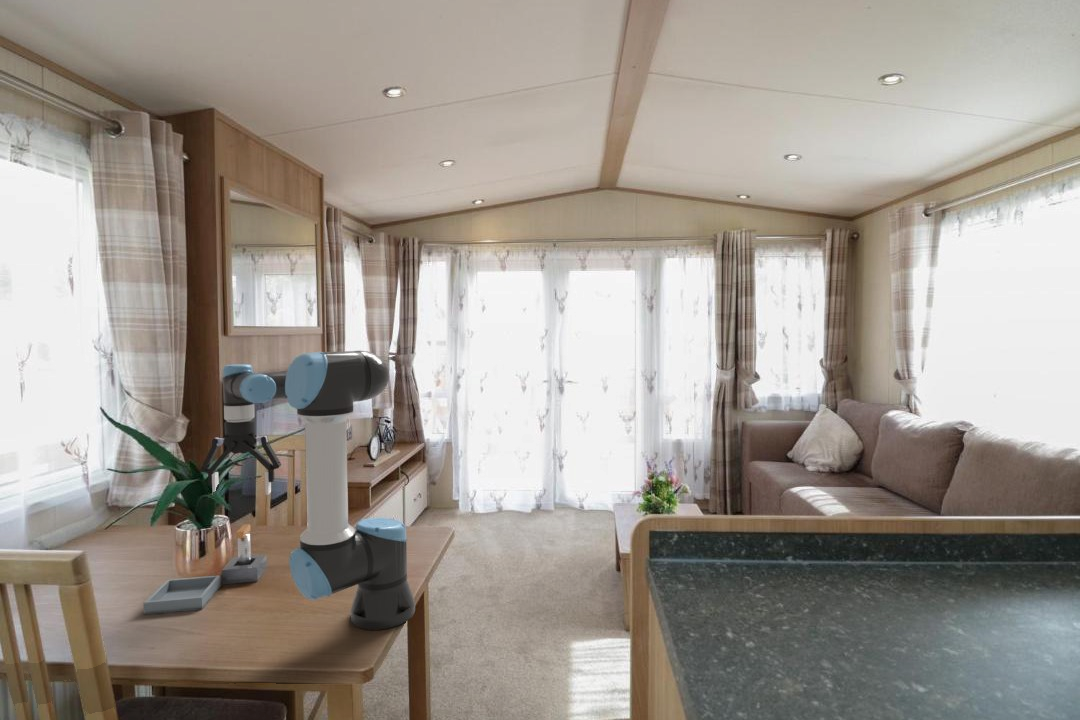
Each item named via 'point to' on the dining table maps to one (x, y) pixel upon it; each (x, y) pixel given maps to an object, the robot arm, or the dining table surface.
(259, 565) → the block
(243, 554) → the t key
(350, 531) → the robot arm
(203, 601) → the tray
